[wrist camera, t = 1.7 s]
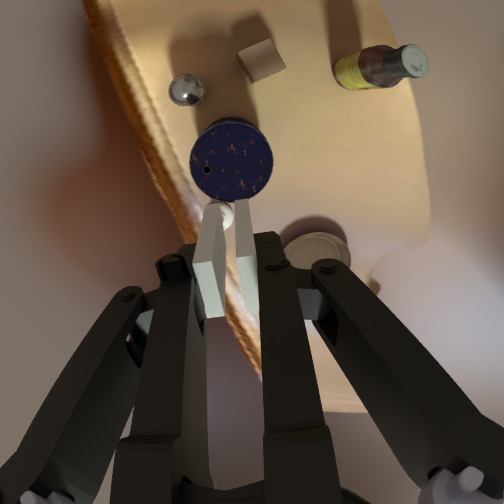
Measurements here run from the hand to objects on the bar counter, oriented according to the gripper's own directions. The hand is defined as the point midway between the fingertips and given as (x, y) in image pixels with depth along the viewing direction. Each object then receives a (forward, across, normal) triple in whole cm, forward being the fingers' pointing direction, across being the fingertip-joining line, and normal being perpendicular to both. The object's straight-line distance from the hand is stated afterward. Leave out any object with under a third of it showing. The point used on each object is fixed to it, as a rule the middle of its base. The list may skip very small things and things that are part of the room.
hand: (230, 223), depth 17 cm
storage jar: (+33, 0, 0) cm, 33 cm away
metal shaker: (+32, -5, +10) cm, 34 cm away
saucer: (+33, +12, -24) cm, 42 cm away
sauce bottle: (+33, +21, +11) cm, 40 cm away
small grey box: (+33, +6, +13) cm, 36 cm away
